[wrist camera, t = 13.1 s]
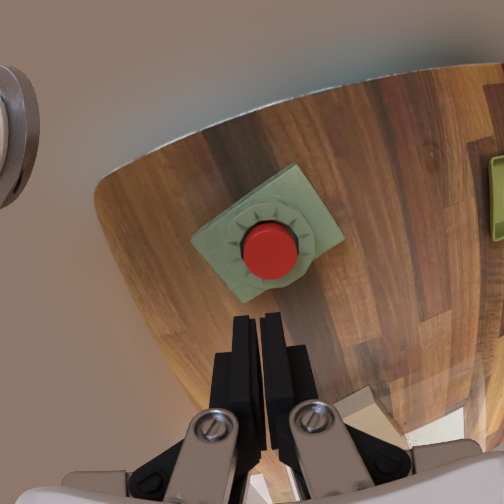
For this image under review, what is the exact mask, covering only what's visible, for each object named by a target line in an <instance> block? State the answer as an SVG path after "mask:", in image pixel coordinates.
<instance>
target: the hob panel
mask: <svg viewBox="0 0 504 504" xmlns="http://www.w3.org/2000/svg"><path fill="white" fill-rule="evenodd" d="M332 405H334V406H335V407H336V409H337V410H338V412H339V414H340V416H341V418H342V420H343V422H344V423H346V424H348V425H350V426H352V427H354V428H356V429H358V430H361V431H363V432H365V433H367V434H370V435H372V436H374V437H376V438H379V439H381V440H383V441H386V442H388V443H391V444H393V445H395V446H398V447H400V448H402V449H403V450H408V449H410V447H409V444H408V442H407V439H406V436H405V435H404V433H403V432H402V430H401V429H400V428H399V426H398V425H397V424H396V422H395V421H394V419H393V418H392V417H391V415H390V414H389V413H388V411H387V410H386V408H385V407H384V406H383V404H382V403H381V402H380V400H379V399H378V398H377V396H376V395H375V393H374V392H373V391H372V389H371V388H370V387H369V386H366V387H365V388H363V389H361V390H359V391H357V392H355V393H354V394H352V395H350V396H348V397H346V398H344V399H342V400H340V401H338V402H336V403H334V404H332ZM277 450H278V449H277Z"/></svg>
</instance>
